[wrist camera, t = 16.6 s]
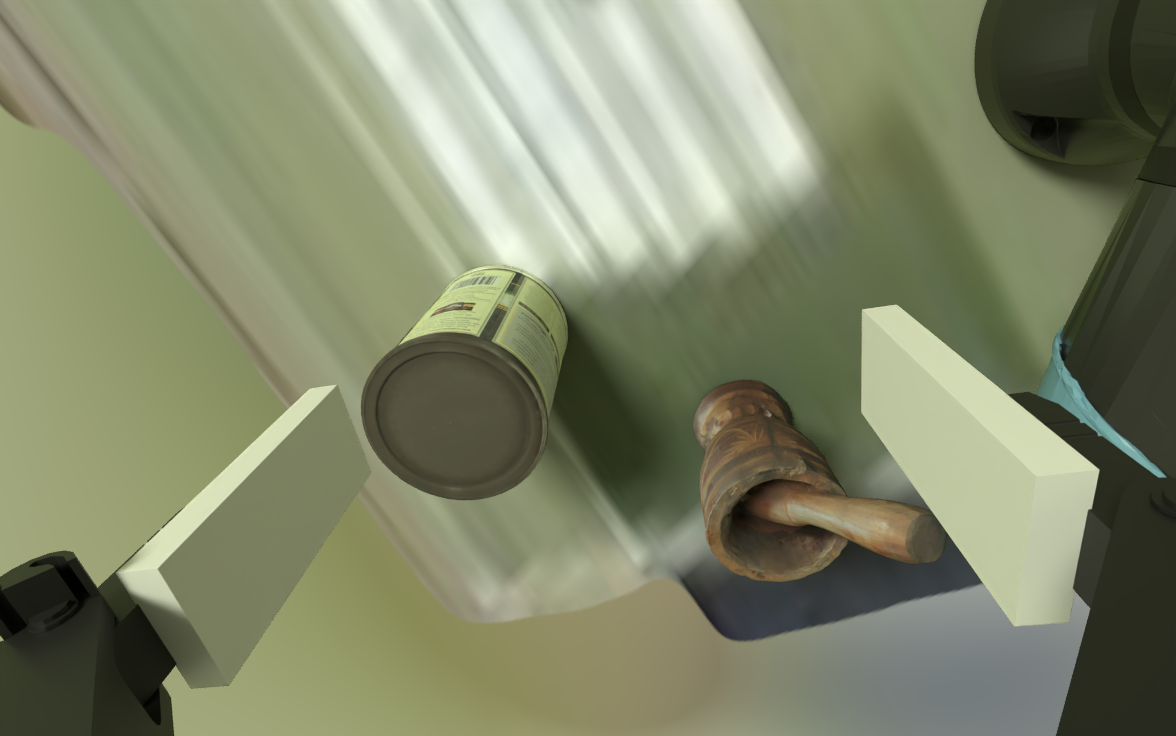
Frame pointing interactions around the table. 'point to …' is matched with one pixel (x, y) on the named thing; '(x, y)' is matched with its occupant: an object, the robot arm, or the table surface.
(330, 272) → the table surface
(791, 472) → the mortar and pestle
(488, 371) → the coffee can
